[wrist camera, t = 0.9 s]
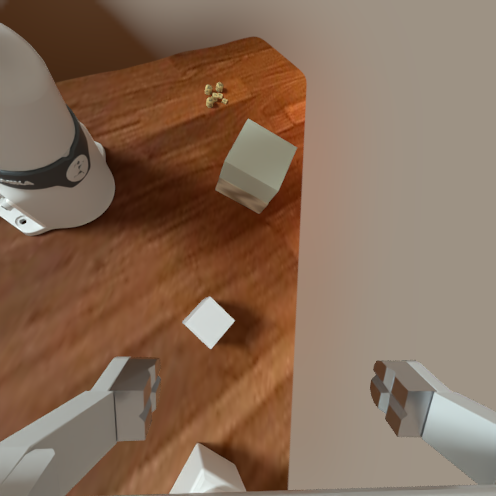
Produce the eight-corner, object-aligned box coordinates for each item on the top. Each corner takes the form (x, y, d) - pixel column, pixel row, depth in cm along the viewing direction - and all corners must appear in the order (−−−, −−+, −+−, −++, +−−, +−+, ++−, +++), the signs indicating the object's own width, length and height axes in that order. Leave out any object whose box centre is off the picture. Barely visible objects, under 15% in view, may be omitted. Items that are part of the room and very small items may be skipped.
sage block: (219, 177, 44) (224, 160, 40) (240, 137, 48) (248, 118, 43) (267, 203, 46) (278, 191, 41) (285, 163, 49) (297, 147, 45)
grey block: (203, 342, 41) (210, 349, 34) (181, 322, 41) (184, 323, 34) (223, 319, 43) (235, 320, 36) (203, 299, 43) (210, 296, 35)
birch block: (214, 190, 49) (219, 177, 44) (235, 153, 52) (241, 138, 48) (259, 214, 50) (267, 204, 46) (275, 177, 54) (285, 164, 49)
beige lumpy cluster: (206, 110, 53) (208, 103, 52) (199, 90, 54) (200, 82, 52) (228, 108, 55) (230, 101, 53) (221, 89, 56) (222, 82, 54)
